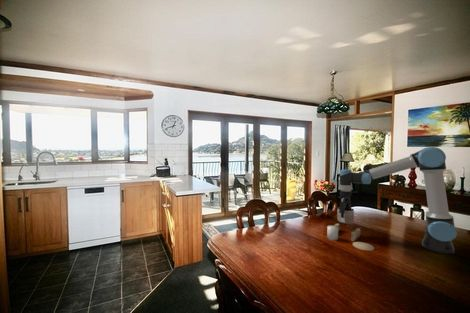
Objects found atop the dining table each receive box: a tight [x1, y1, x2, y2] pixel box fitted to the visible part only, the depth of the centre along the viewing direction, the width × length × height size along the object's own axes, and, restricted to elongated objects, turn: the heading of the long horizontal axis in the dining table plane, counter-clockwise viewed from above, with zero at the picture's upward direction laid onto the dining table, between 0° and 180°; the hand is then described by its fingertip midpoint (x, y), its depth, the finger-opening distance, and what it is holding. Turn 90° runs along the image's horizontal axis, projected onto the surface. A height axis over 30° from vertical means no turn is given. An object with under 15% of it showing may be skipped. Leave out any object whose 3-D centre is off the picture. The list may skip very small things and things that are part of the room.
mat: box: [352, 241, 375, 252], centre depth 137 cm, size 12×12×1 cm
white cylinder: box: [326, 225, 339, 241], centre depth 150 cm, size 7×7×8 cm
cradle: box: [332, 222, 361, 242], centre depth 156 cm, size 16×14×5 cm
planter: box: [336, 206, 355, 225], centre depth 156 cm, size 11×11×10 cm
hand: (345, 220), depth 156 cm, fingers closed on planter, 11 cm apart
